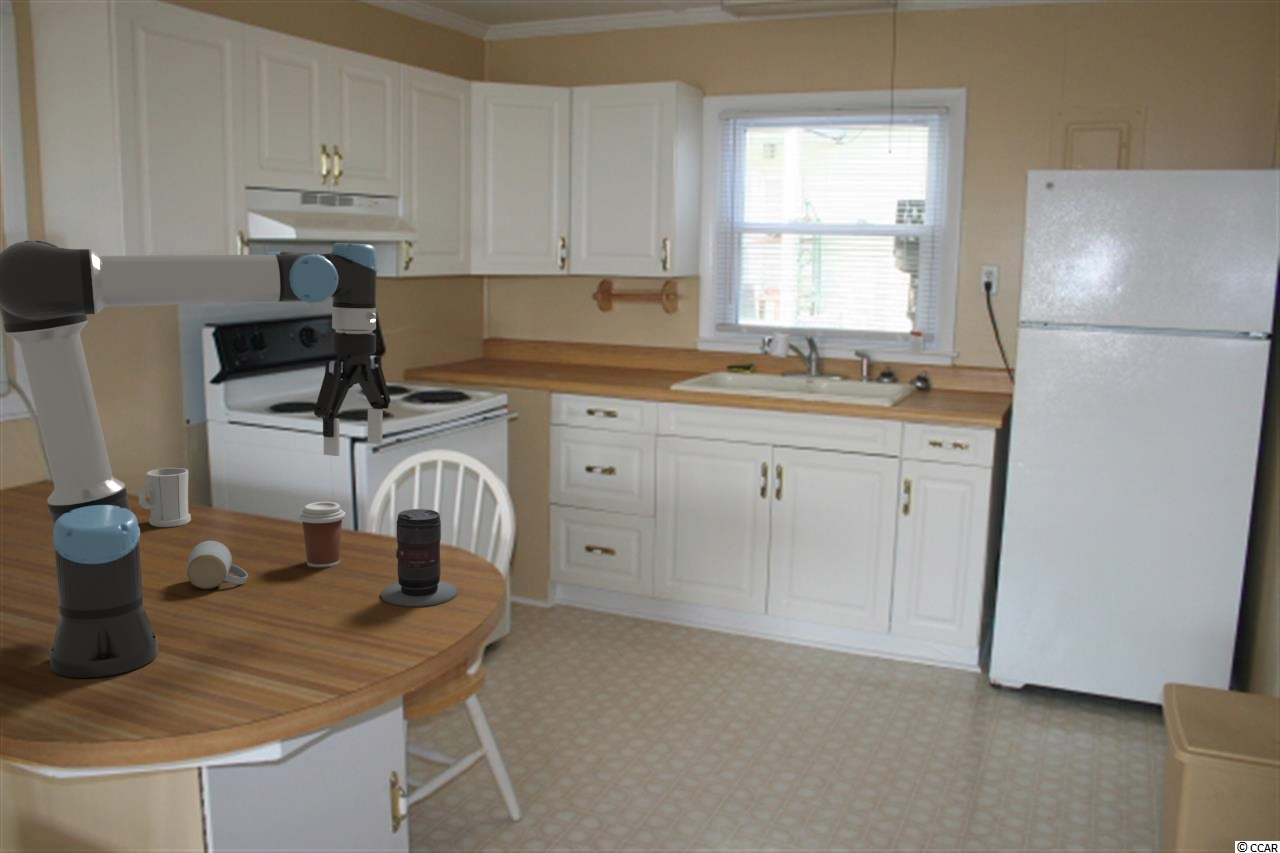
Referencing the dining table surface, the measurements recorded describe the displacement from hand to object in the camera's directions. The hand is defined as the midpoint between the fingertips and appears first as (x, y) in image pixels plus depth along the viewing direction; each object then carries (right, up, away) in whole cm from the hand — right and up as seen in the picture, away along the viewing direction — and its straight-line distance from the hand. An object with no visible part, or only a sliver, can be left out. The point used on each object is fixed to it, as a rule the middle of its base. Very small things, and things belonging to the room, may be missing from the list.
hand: (353, 449), depth 196 cm
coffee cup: (-13, -24, +26) cm, 38 cm away
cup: (-56, -18, +53) cm, 80 cm away
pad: (+10, -27, +8) cm, 30 cm away
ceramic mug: (-29, -26, +12) cm, 41 cm away
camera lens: (+10, -27, +8) cm, 30 cm away
